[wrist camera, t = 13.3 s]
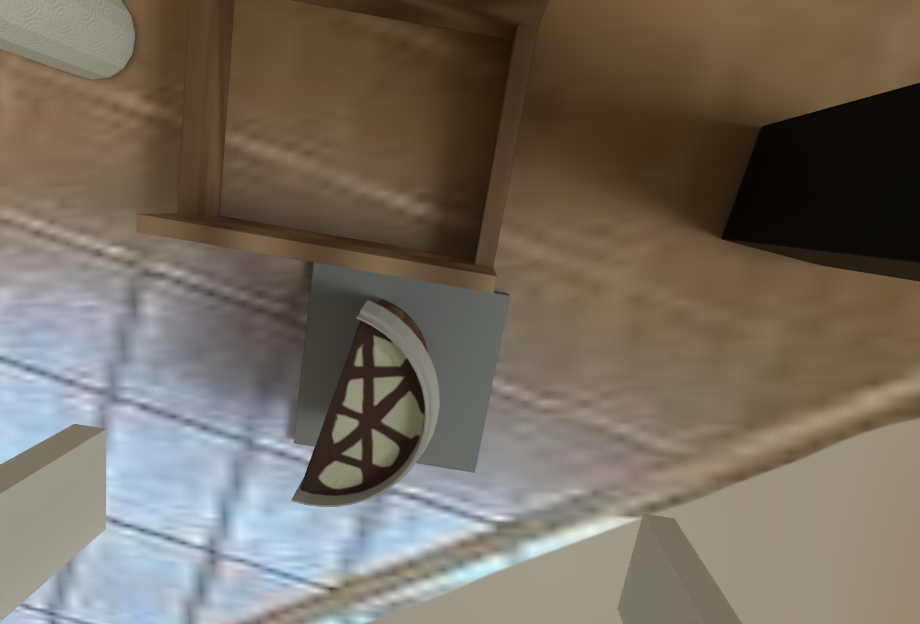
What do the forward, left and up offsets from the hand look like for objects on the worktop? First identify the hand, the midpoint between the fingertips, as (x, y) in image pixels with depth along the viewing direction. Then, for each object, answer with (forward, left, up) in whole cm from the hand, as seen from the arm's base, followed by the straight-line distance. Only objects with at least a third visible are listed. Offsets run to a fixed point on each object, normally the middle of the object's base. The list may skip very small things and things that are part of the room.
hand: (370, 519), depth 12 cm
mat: (+2, +5, -24) cm, 25 cm away
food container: (+2, +5, -24) cm, 24 cm away
